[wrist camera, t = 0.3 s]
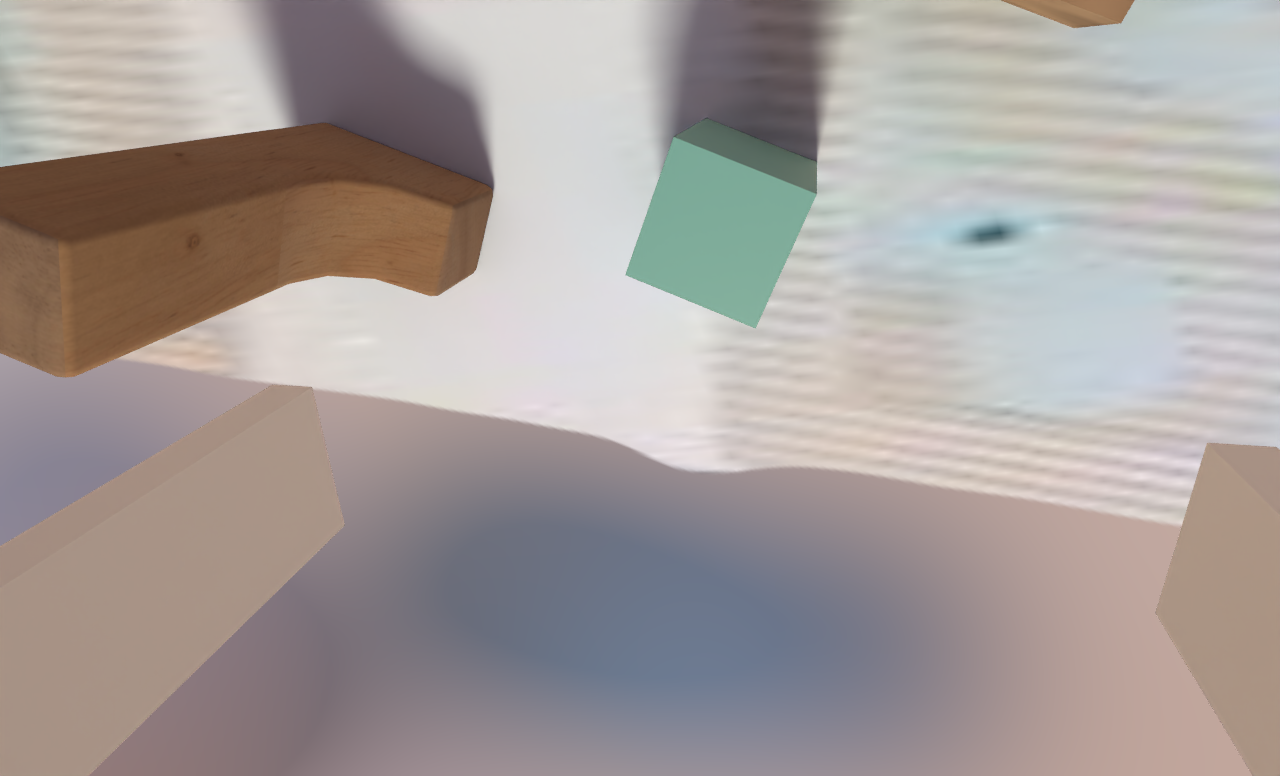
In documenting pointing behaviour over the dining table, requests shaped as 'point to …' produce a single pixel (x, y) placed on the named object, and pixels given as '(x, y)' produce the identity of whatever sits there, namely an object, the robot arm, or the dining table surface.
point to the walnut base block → (1078, 11)
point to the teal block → (723, 220)
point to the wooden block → (215, 235)
